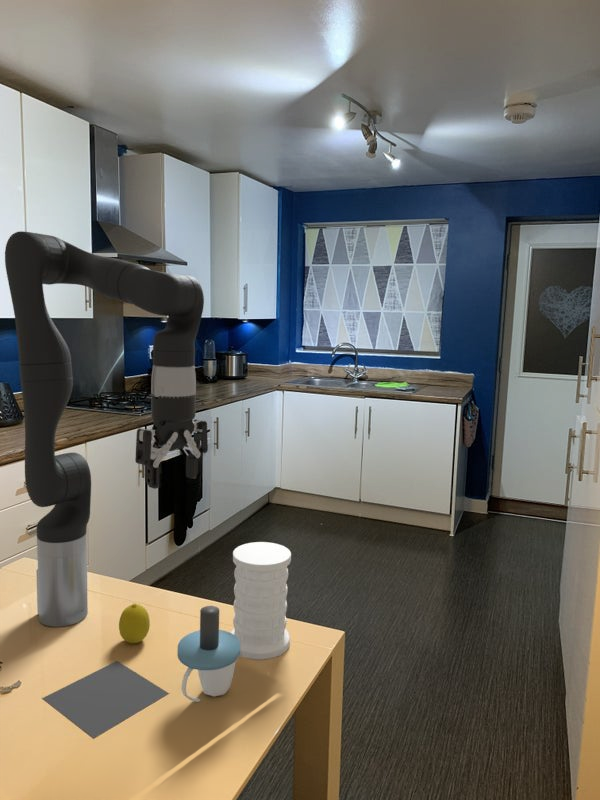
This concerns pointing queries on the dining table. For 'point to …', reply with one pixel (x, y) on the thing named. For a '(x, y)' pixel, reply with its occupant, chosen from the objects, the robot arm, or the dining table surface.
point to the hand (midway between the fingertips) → (173, 482)
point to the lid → (209, 644)
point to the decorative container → (261, 599)
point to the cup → (211, 681)
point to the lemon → (134, 623)
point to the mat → (105, 698)
